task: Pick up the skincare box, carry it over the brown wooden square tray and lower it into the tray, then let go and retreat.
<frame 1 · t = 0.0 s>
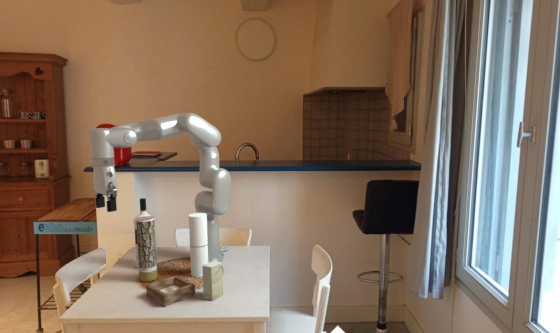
hand: (106, 209, 145), 31 cm above the table, tool pointing down, fingers open, 9 cm apart
skincare box: (213, 296, 143), on the table
cylindrical container: (199, 274, 164), on the table
paper tube: (148, 279, 159), on the table
vodka: (146, 265, 174), on the table
brown wooden square tray: (171, 295, 144), on the table
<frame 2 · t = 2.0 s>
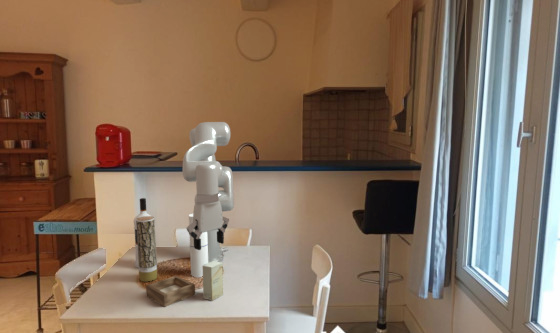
hand: (209, 245, 141), 19 cm above the table, tool pointing down, fingers open, 9 cm apart
nothing on the table moved.
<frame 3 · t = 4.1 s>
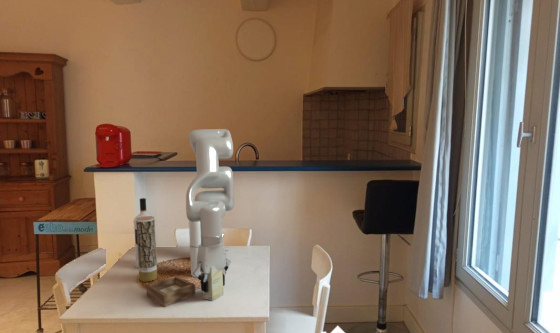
hand: (213, 287, 143), 3 cm above the table, tool pointing down, fingers closed on skincare box, 6 cm apart
skincare box: (213, 296, 143), on the table, touching gripper
everything else where it was.
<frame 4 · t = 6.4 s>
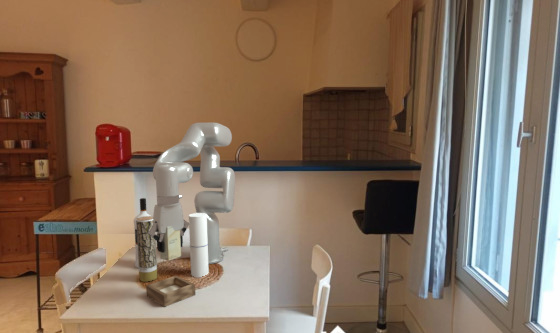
hand: (170, 248, 142), 18 cm above the table, tool pointing down, fingers closed on skincare box, 6 cm apart
skincare box: (170, 258, 142), point 14 cm above the table, touching gripper
everything else where it was.
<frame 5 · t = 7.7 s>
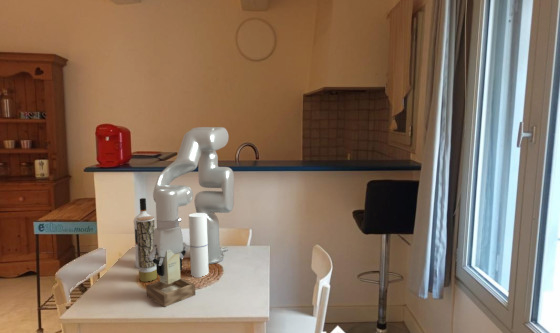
hand: (169, 271, 143), 9 cm above the table, tool pointing down, fingers closed on skincare box, 6 cm apart
skincare box: (170, 281, 143), point 5 cm above the table, touching gripper
everything else where it was.
when the fingers open (5 cm above the table, at t = 8.9 s): skincare box stays where it is, resting on brown wooden square tray.
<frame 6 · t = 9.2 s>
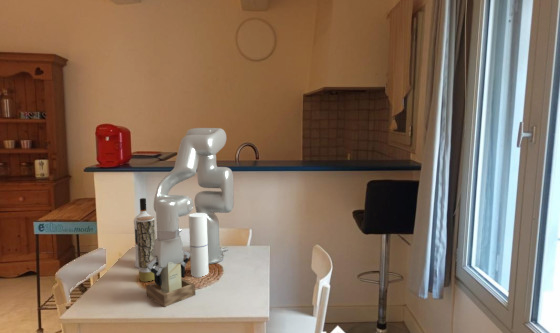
hand: (170, 280, 143), 6 cm above the table, tool pointing down, fingers open, 9 cm apart
skincare box: (171, 292, 144), point 1 cm above the table, touching brown wooden square tray
everything else where it was.
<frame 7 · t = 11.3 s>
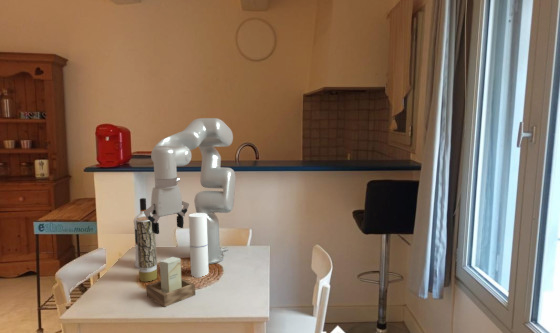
hand: (168, 230, 141), 24 cm above the table, tool pointing down, fingers open, 9 cm apart
nothing on the table moved.
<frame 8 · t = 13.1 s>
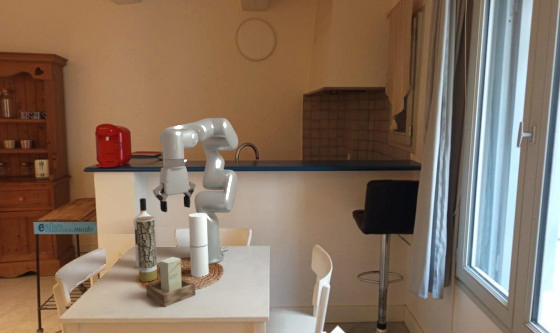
hand: (175, 209, 147), 30 cm above the table, tool pointing down, fingers open, 9 cm apart
nothing on the table moved.
at the end: skincare box 0.4 cm from the brown wooden square tray (horizontally); skincare box point 1.0 cm above the table; skincare box tilted 0° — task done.
